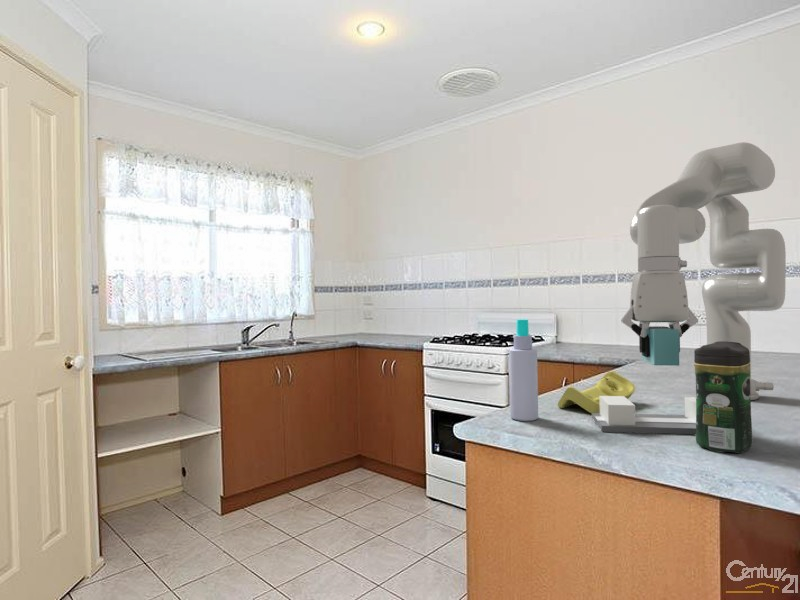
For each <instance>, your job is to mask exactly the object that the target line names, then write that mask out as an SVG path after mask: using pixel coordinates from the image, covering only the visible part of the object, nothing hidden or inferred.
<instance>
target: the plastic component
mask: <svg viewBox="0 0 800 600" xmlns="http://www.w3.org/2000/svg"><path fill="white" fill-rule="evenodd" d="M635 391H636V387H635V385H634V383H633V382H631V381H630V379H627V378H625V377H624V376H622V375H621V374H619V373H618V372H615V371H613V370H612V371H611V370H610V371H609V372H606V374H605V375H603V376H602V377H601V378H600V379H599V380H598V381H597V383H595V385H593V386H592V387H589V388H587V389H584V390H582V391H580V390H578V389H577V388H575V387H574V386H569V387H567V388H566V389H565V391H564V393H563V394H562V396H561V397H560V399H559V401H558V403H557V406H558V408H560V409H564V408H563V407H565V408H567V407H566V406H568V407H570V406H573V405H574V404H576V405H578V406H580V408H582V409H584V410H585V411H586V412H588V413H589V414H592V413H600V401H599V396H624V397H626V398H627V399H628V400H629V398H630V397H631V396H632V395H633V394H634V393H635ZM572 404H573V405H572ZM569 405H570V406H569Z"/></svg>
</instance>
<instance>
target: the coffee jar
mask: <svg viewBox="0 0 800 600" xmlns="http://www.w3.org/2000/svg"><path fill="white" fill-rule="evenodd" d="M693 354H694V358H693V359H694V363H693V364H694V373H695V374H694V375H695V397H696V435H695V440H696V441H695V442H696V444H697V446H699V447H702V448H705V449H708V450H710V451H714V452H718V453H736V454H737V453H738V454H739V453H742V452H743V453H744V452H745V451H747V450H749V448H750V447H751V446H752V444H753V429H752V428H753V427H752V406H751V405H752V403H751V402H752V400H751V397H750V353H749V349H748V348H746V347H745V346H743V345H741V344H740V343H737V342H725V341H719V342H715V343H712V344H708V345H707V344H705V345H701V346H700V347H698V348H694V353H693Z"/></svg>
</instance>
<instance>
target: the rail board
mask: <svg viewBox="0 0 800 600" xmlns="http://www.w3.org/2000/svg"><path fill="white" fill-rule="evenodd" d="M599 401H600V413H591V419H592V418H593V419H594V421H595V422H596V423H595V422H594V421H593V422H594V423H595V425H596V424H597V425H598V426H597V425H596V426H597V428H598V429H599V428H600V429H601V430H600V429H599V430H600V432H601V431H604V432H603V433H623V432H635V433H634V434H657V433H671V434H670V435H691V434H696V396H694V397H692V396H689V397H688V396H685V397H684V414H661V413H660V414H659V413H658V414H656V413H654V414H653V413H652V414H651V413H636V405H635V404H634V403H633V402H632V401H631V400H629V398H628V399H627V398H626V397H624V396H599ZM593 419H592V420H593ZM636 432H637V433H636ZM672 433H673V434H672Z"/></svg>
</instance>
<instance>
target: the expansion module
mask: <svg viewBox="0 0 800 600" xmlns="http://www.w3.org/2000/svg"><path fill="white" fill-rule="evenodd" d="M647 334H648V337H649V339H650V356H649V357H645V356H642V355H641V361H644V362H645V363H648V364H651V365H653V366H674V367H675V366H677V367H678V366H680V352H679V330H678V329H673V328H670V327H669V326H664V325H663V326H662V325H659V326H658V325H657V326H656V325H655V326H654V325H653V326H651V325H649V329H648V333H647Z"/></svg>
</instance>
